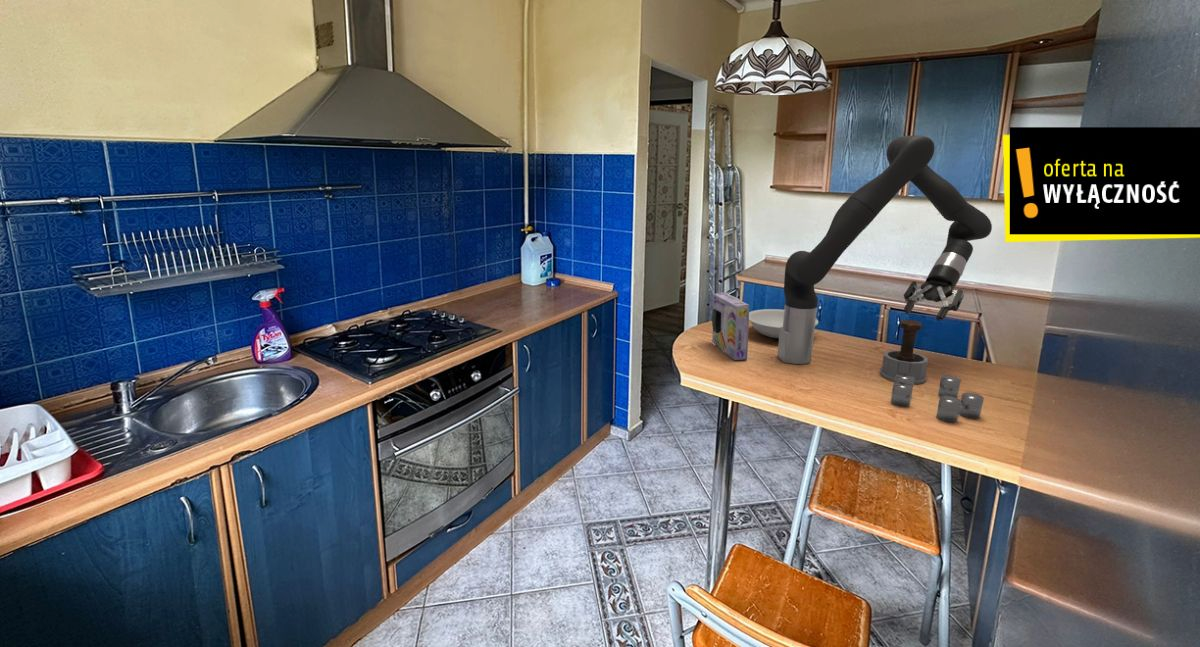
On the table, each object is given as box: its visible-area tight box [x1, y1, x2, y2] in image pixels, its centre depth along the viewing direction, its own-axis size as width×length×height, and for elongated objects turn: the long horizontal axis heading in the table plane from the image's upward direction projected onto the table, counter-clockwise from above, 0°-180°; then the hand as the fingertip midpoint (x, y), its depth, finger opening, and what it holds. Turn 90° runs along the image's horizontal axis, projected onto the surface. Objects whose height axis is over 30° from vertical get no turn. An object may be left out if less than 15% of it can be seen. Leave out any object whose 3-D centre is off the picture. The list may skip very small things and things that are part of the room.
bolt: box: [896, 319, 923, 362], centre depth 160 cm, size 6×5×15 cm
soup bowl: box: [749, 308, 819, 339], centre depth 198 cm, size 24×24×7 cm
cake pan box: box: [711, 291, 750, 361], centre depth 180 cm, size 19×5×18 cm, turn 11°
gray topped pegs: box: [890, 373, 985, 424], centre depth 143 cm, size 19×19×5 cm
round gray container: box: [878, 349, 929, 385], centre depth 162 cm, size 12×12×6 cm
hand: (922, 316), depth 162 cm, fingers open, 8 cm apart
